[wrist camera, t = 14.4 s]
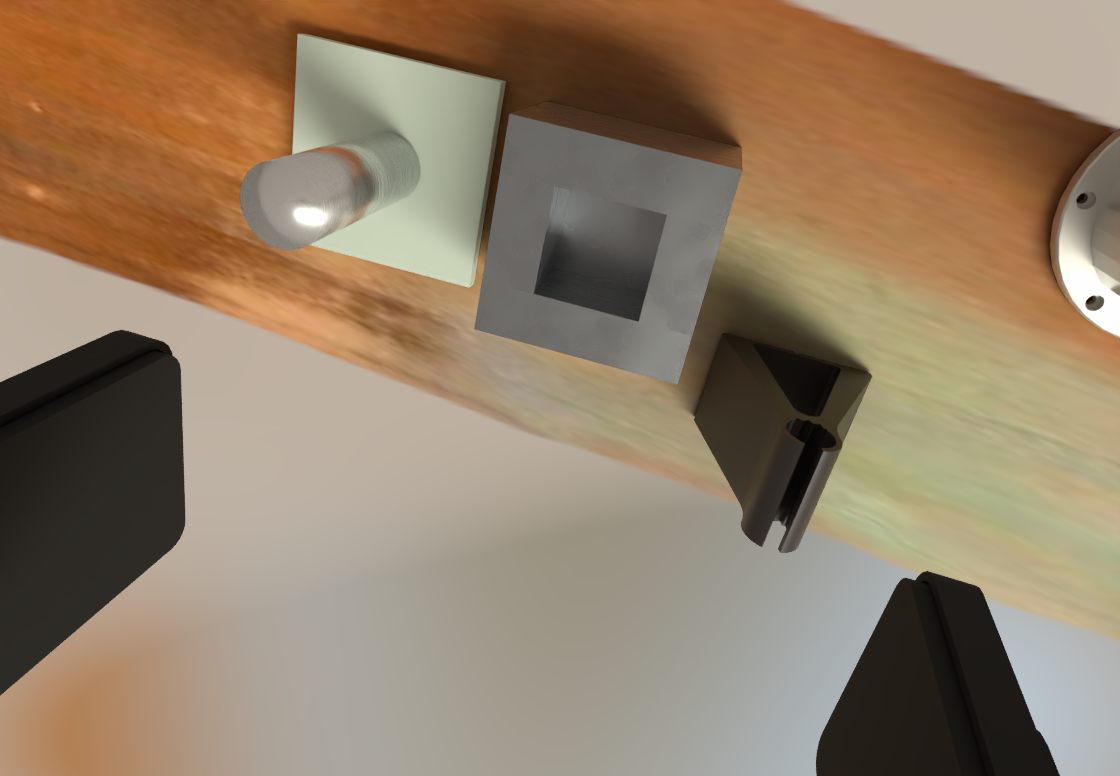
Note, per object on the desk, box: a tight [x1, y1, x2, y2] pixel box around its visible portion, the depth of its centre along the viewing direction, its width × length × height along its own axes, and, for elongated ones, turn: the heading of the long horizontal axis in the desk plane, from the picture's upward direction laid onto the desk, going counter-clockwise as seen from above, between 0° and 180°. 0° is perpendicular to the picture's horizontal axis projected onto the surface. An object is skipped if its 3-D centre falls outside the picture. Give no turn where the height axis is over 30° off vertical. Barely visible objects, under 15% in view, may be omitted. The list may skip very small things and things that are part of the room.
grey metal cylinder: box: [240, 131, 421, 250], centre depth 40 cm, size 4×4×12 cm
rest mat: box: [292, 34, 506, 287], centre depth 46 cm, size 12×12×1 cm
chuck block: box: [474, 101, 742, 385], centre depth 41 cm, size 11×11×8 cm
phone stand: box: [694, 333, 872, 553], centre depth 42 cm, size 9×6×12 cm, turn 77°
